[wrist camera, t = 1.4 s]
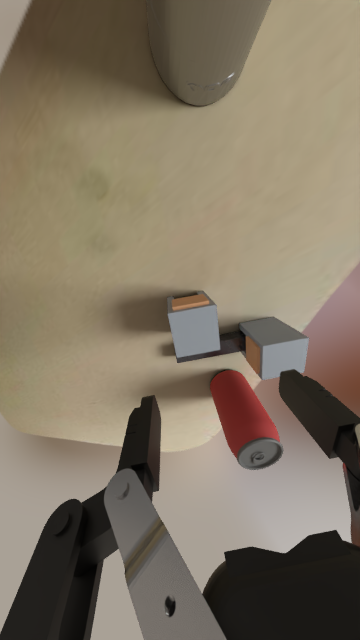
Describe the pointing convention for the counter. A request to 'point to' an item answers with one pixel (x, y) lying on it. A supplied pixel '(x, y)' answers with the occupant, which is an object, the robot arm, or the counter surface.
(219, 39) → the robot arm
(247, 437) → the beer can
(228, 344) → the rail
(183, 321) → the grey block
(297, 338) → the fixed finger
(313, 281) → the counter surface
